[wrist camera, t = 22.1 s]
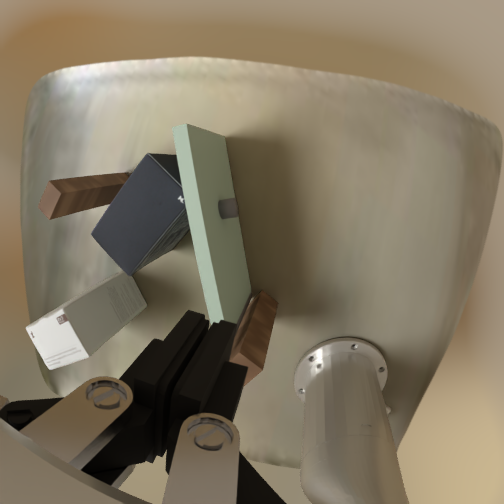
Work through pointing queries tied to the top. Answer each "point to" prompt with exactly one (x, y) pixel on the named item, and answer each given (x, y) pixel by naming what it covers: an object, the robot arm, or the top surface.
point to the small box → (145, 215)
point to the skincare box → (86, 321)
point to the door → (213, 222)
